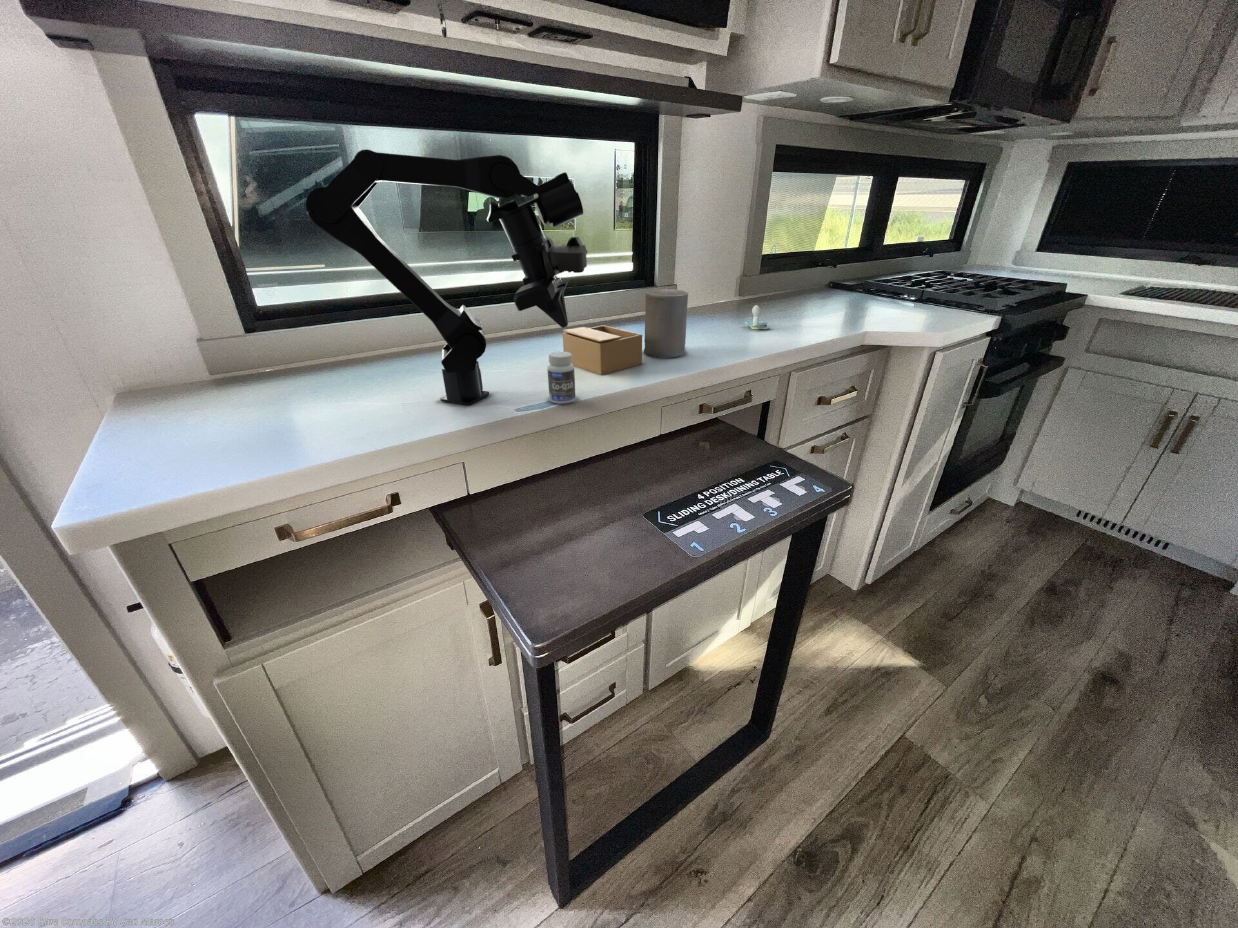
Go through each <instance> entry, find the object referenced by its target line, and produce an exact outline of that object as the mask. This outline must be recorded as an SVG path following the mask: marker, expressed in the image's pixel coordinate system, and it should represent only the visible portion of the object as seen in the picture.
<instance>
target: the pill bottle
mask: <svg viewBox="0 0 1238 928" xmlns="http://www.w3.org/2000/svg"><path fill="white" fill-rule="evenodd" d="M571 362H572V355H571V353H569V352H564V351H554V352H550V353H548V363H549V364H548V365H547V383H548V385H547V386H548V397H549V401H550V402H551V403H554V404H560V405H561V404H570V403H572V402H574V401H575V400H576V373H575V366H574V365H573V364H572V363H571Z"/></svg>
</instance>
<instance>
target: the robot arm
mask: <svg viewBox="0 0 1238 928" xmlns="http://www.w3.org/2000/svg"><path fill="white" fill-rule="evenodd" d="M381 182H387V183H398V184H399V183H400V184H410V185H411V184H412V185H423V186H424V185H425V186H438V187H448V188H449V187H451V188H459V189H463V190H465V191H466V190H467V191H470V192H473V193H478V194H481V195H483V196H484V195H485V196H488V197H491V198H496V199H509V198H511V197H513V196H517V197H521V198H525V197H532V196H533V198H532V199H529V200H527V201H525V202H523V203H521V204H517V202H516V200H515V199H512V200H509V201H507V202H505V203H503V204H500V205H499V206H496V205H495V204H493V203H489V212H488V214H487V217H486V221H487V222H488V223H490V224H491V223H494V222H496V221H499V222H500V224H501V226H502V229H503V231H504V233H505V235H506V237H507V239H508V241H509V244H510V246H511V247H512V250H513V254H511V259H512V260H513V262H517V261H518V264H519V266H520V268H521V271H522V272H523V274H524V277H523V278H522V282H523V284H524V285H522V286H520V288H518V290H517V291H516V292H515V293H514V297H513V303H514V305H515V307H516V310H517V311H518V312H522V311H525V310H528V309H530V308H534V307H537V308H538V309H540V310H541V311H543V313H545V314H546V315H547V316H548V317H549V318H550V319H552V321H554V322H555V323H556V324H557V325H558V326H559V327H560V328H562V329H564V328H567V327H568V326H569V319H568V314H567V308H566V307H567V306H566V301H565V300H566V299H565V290H566V287H567V285H568V284H569V278H566V279H562V280H561V277H558V275H559V274H562V273H564V272H568V273H572V272H573V274H580V273H583V272H584V271H585V268H587V266H588V263H587V262H588V260H587V255H588V253H589V251H588V249H587V246H586V244H583V242H582V240H581V238H580V237H579V236H571V237H570V238H568V239H567V242H566V244H561V245H555V244H554V242H553V239H552V238H550V237H549V236H548V237H546V236H545V234H544V231H543V229H542V226H541V224H540V222H539V219H540V221H541V223H542V224H543V226H545V225H548V224H549V226H550V227H551V228H552V229H555V228H557V227H559V226H561V225H563V224H566V223H568V222H571V221H572V220H574V219H577V218H579V217H582V216H583V215H584V206H583V204H582V199H581V197H580V194H579V192H577V191H576V188H575V186H574V184H573V182H572V181H571V180H570V177H569V176H568V173H567V172H566V171H564V172H561V173H559V174H558V175H556V176H554V177H553V178H552V179H549V180H547V181H545V182H543V183H540V184H536V183H535V182H534V181H533V180H532V181H531V180H530V179H529V178H527V177H526V176H525V175H523V174H521V171H520V168H519V167H518V165H517V164H516V162H514V160H513V159H512V158H510V157H509V156H506V155H502V154H495V155H485V156H476V157H469V158H461V159H452V158H442V157H441V158H440V157H429V156H419V155H409V154H400V153H399V154H398V153H387V152H377V151H374V150H371V149H368V148H367V149H361V150H359V151H357V152H356V154H355V155H354V158H352V160H351V161H350V162H349V163H348V164H347V165H346V166H345V167H344V168H343V169H342V170H341V171H339V173H338V174H337V175H336V176H334V178H333V179H331V181H330V182H329V183H328V184H327V185H326V187H324V186H320V187H317V188H314V189H313V190H311V191H310V192H309V194H308V195H307V196H306V200H305V207H306V208H305V209H306V214H307V216H308V218H309V220H310V221H311V222H312V224H314V225H315V226H316V227H318V228H319V229H320V230H322V231H323V232H324V233H326V234H328V235H329V236H331V237H332V238H333V239H335V240H336V241H338V242H339V243H341V244H343V245H345V246H346V247H347V248H350V249H351V250H353V251H355V252H356V253H358V254H359V255H360V256H362V257H363V258H364V259H365V260H366V261H367V262H368V264H370V265H372V267H373V268H374V269H376V270H377V271H378V273H380V274H381V275H382V276H383V277H384V278H385V279H386V280H387V281H388V282H389V283H390V284H391V285H393V287H394V288H395V289H397V290H398V291H399V292H400V293H401V295H403V296H404V297H405V298H406V299H407V300H408V301H409V302H410V303H412V305H413V306H415V307H416V309H418V310H419V311H420V312H421V313H423V315H424V316H425V317H427V318H428V320H430V321H431V323H432V324H433V325H434V326H435V328H436V330H437V331H438V332H439V334H440V336H441V337H442V339H443V340H444V342H446V344H445V345H444V346H443V347H442V348H441V358H440V359H441V360H440V361H441V365H442V368H441V373H442V379H443V385H444V390H445V395H443V396H441V397H440V398H439V401H440V402H445V403H452V404H457V405H463V406H470V405H472V404H474V403H476V402H478V401H480V400H481V399H484V398H485V397H487V396H489V395H490V391H489V390H484V386H483V379H482V372H481V368H480V363H479V361H478V359H480V358H481V357H482V356H483V355H484V353H485V352H486V348H487V339H486V336H485V332H484V329H483V326H482V322H481V319H478V318H476V317H475V316H474V315H472V314H471V312H470V311H469V309H468V308H467V307H466V305H464V304H462V305H461V306H460V308H459V309H457V308H456V307H454V306H452V305H451V304H450V303H448V302H446V301H445V300H444V299H443V298H442V296H440V295H439V294H438V293H437V291H435V289H433V288H432V287H431V286H430V285H429V284H428V283H427V282H426V281H425V280H424V279H423V278H422V276H420V275H419V274H418V273H417V272H416V271H415V270H414V269H413V268H412V267H411V266H409V264H407V262H406V261H405V260H404V259H403V258H402V257H401V256H399V254H397V253H396V252H395V251H394V250H393V249H392V247H390V246H389V245H388V243H386V241H384V240H383V239H382V238H381V236H379V234H378V233H377V231H376V230H375V229H374V227H373V226H372V224H371V222H370V221H369V220H368V218H367V216H366V215H365V214H364V212H363V211H362V209H361V208H360V206H361V205H362V204H363V203H364V201H365V200H366V199H367V197H368V196H369V195H370V194H371V193H372V191H374V189H375V188H376V186H377V185H378V184H379V183H381ZM533 205H534V207H535V210H536V212H537V215H538V217H539V219H538V218H537V215H536V212H535V210H534V207H533Z"/></svg>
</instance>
